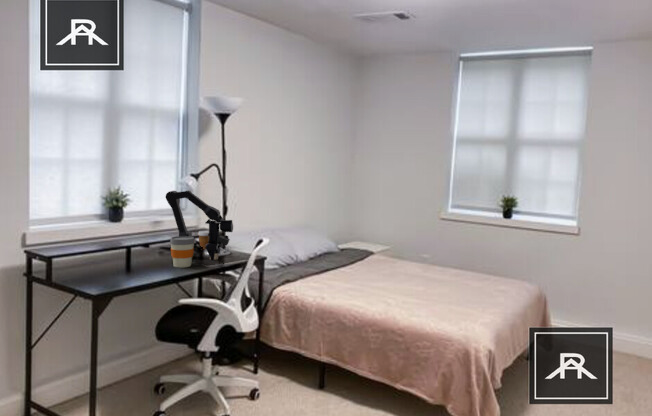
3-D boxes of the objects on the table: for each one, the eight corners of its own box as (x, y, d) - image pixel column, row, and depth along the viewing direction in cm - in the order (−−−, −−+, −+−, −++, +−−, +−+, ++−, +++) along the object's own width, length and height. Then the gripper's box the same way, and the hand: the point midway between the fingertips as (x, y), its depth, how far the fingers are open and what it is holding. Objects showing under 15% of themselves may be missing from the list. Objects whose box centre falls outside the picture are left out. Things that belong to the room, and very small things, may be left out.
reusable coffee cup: (164, 266, 280) (164, 238, 278) (181, 262, 291) (181, 235, 289) (182, 269, 274) (183, 240, 272) (199, 265, 285) (199, 237, 283)
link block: (216, 262, 295) (216, 254, 294) (209, 261, 295) (209, 254, 294) (218, 260, 299) (218, 253, 298) (210, 260, 299) (211, 253, 298)
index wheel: (214, 257, 301) (214, 240, 300) (199, 253, 311) (199, 237, 310) (234, 254, 312) (235, 238, 311) (220, 250, 322) (220, 235, 321)
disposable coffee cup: (194, 251, 324) (194, 231, 323) (204, 248, 333) (204, 229, 332) (207, 252, 320) (207, 233, 319) (216, 250, 329) (216, 231, 328)
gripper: (225, 234, 286) (225, 262, 287) (231, 229, 304) (230, 256, 306) (205, 234, 286) (204, 262, 287) (211, 229, 304) (211, 255, 306)
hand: (213, 259), depth 297 cm, fingers open, 7 cm apart
